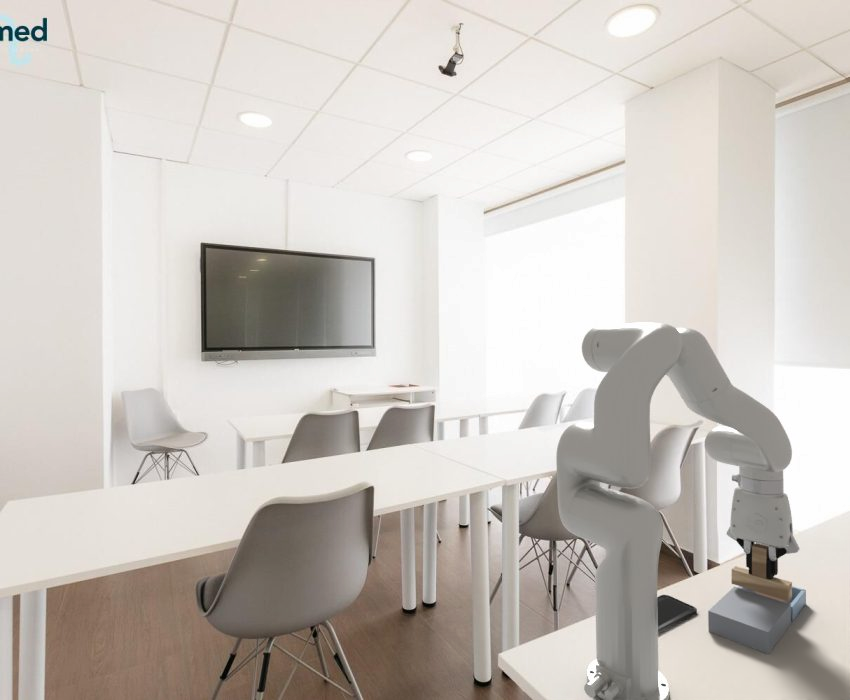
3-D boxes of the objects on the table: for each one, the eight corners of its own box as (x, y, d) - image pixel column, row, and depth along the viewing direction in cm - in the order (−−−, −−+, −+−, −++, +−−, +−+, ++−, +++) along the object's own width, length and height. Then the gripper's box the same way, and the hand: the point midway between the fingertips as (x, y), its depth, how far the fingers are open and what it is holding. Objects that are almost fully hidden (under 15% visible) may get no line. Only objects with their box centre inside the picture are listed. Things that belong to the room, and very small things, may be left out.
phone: (699, 609, 107) (654, 632, 99) (699, 614, 107) (654, 638, 99) (664, 593, 113) (619, 614, 105) (664, 598, 113) (619, 619, 105)
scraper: (788, 601, 100) (788, 554, 100) (731, 583, 108) (731, 540, 108) (791, 597, 102) (792, 551, 102) (735, 580, 110) (735, 537, 110)
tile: (790, 591, 109) (790, 600, 109) (763, 583, 113) (763, 592, 113) (783, 599, 106) (783, 609, 106) (755, 591, 110) (755, 600, 110)
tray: (792, 622, 102) (792, 607, 102) (736, 603, 110) (736, 589, 110) (805, 604, 109) (805, 590, 109) (752, 587, 116) (751, 574, 116)
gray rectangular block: (768, 654, 92) (768, 632, 92) (708, 631, 100) (708, 610, 100) (790, 624, 101) (790, 604, 101) (734, 605, 109) (734, 586, 109)
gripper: (711, 481, 108) (712, 567, 109) (804, 497, 96) (804, 595, 97) (724, 474, 113) (725, 557, 114) (814, 489, 101) (815, 581, 102)
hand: (761, 573), depth 105 cm, fingers closed on scraper, 2 cm apart
